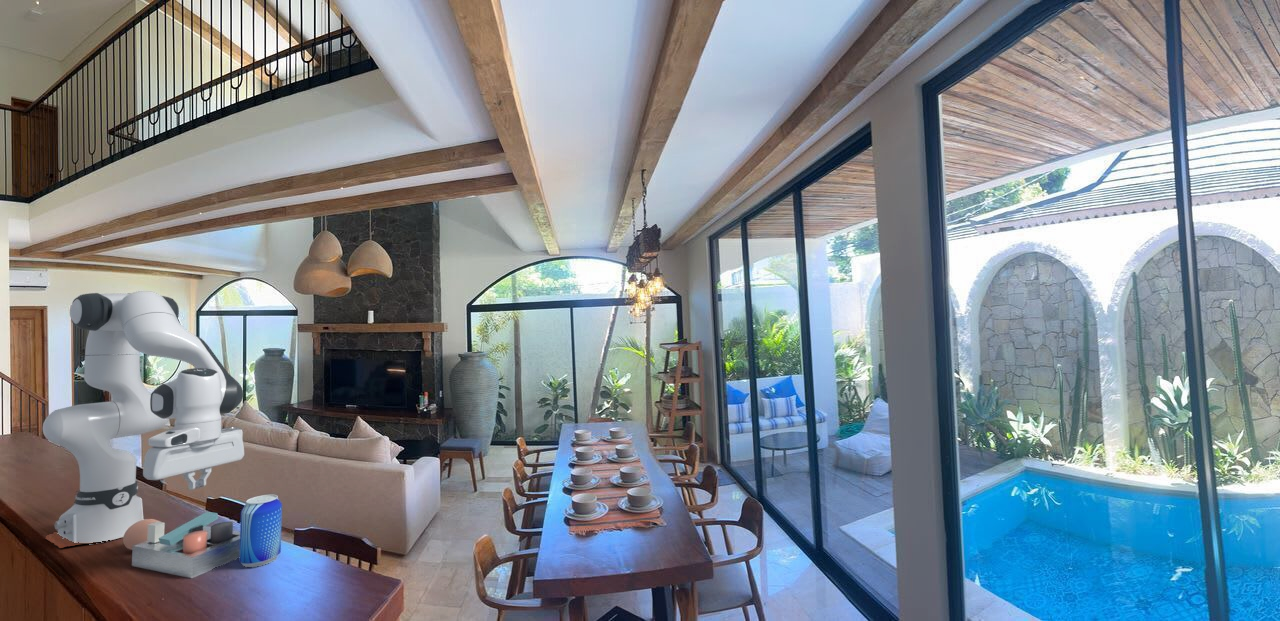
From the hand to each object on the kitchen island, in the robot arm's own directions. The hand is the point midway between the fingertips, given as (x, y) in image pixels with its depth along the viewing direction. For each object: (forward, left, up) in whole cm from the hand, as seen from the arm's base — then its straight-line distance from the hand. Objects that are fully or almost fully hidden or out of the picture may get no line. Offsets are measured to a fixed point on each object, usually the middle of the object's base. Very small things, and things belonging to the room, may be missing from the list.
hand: (197, 487), depth 121 cm
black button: (0, +6, -18) cm, 19 cm away
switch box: (-6, +4, -20) cm, 21 cm away
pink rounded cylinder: (0, 0, -18) cm, 18 cm away
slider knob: (-15, 0, -15) cm, 21 cm away
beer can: (+12, +8, -20) cm, 25 cm away
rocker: (-8, +4, -12) cm, 15 cm away
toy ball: (-26, +4, -20) cm, 33 cm away
